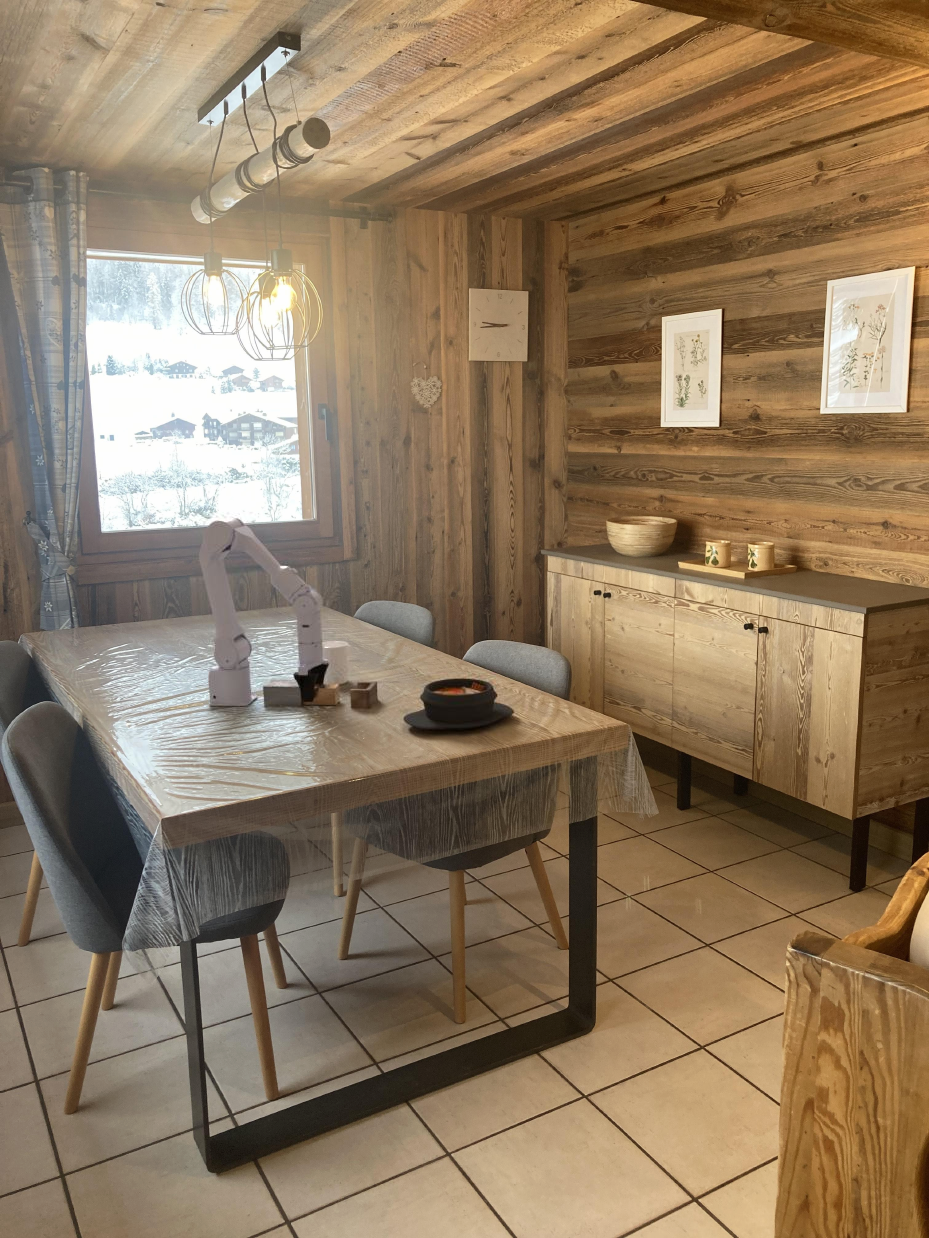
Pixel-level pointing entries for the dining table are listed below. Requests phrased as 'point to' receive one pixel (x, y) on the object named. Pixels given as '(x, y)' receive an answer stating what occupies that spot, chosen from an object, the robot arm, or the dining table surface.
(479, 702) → the casserole
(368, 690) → the socket
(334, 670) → the white cup
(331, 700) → the tan wooden bar
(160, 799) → the dining table surface
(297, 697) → the sleeve
